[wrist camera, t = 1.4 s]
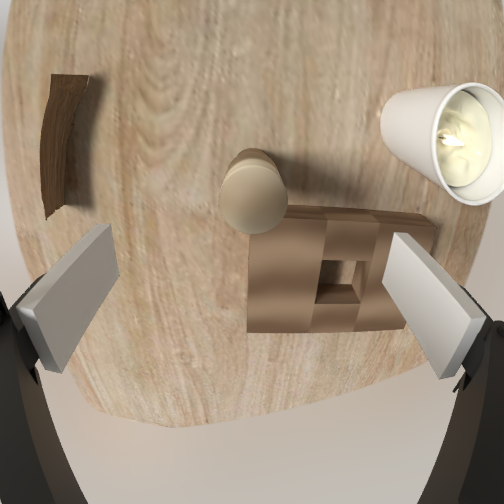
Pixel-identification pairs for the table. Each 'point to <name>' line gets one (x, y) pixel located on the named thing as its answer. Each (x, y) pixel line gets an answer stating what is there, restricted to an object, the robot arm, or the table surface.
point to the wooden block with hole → (309, 264)
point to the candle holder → (450, 137)
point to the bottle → (253, 193)
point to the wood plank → (58, 136)
